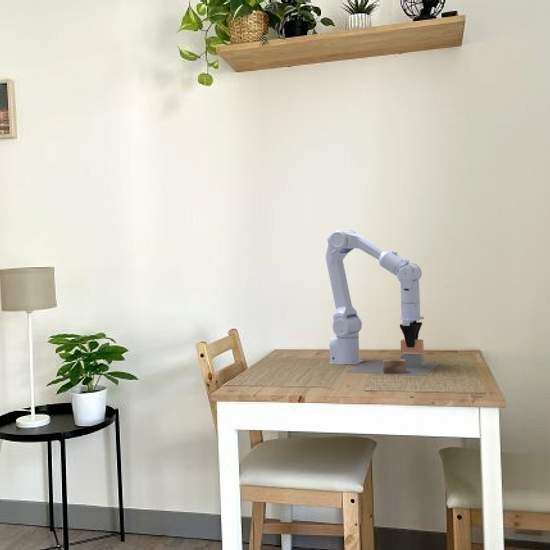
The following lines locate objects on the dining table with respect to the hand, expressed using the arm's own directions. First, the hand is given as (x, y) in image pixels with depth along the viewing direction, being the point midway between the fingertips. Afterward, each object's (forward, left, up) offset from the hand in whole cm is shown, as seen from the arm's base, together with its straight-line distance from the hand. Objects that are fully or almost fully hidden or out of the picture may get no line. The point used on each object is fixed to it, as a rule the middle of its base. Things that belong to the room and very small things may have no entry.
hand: (411, 346), depth 194 cm
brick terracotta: (0, 0, -2) cm, 2 cm away
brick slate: (0, 0, -6) cm, 6 cm away
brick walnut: (-3, -11, -6) cm, 13 cm away
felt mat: (-5, -4, -7) cm, 9 cm away
